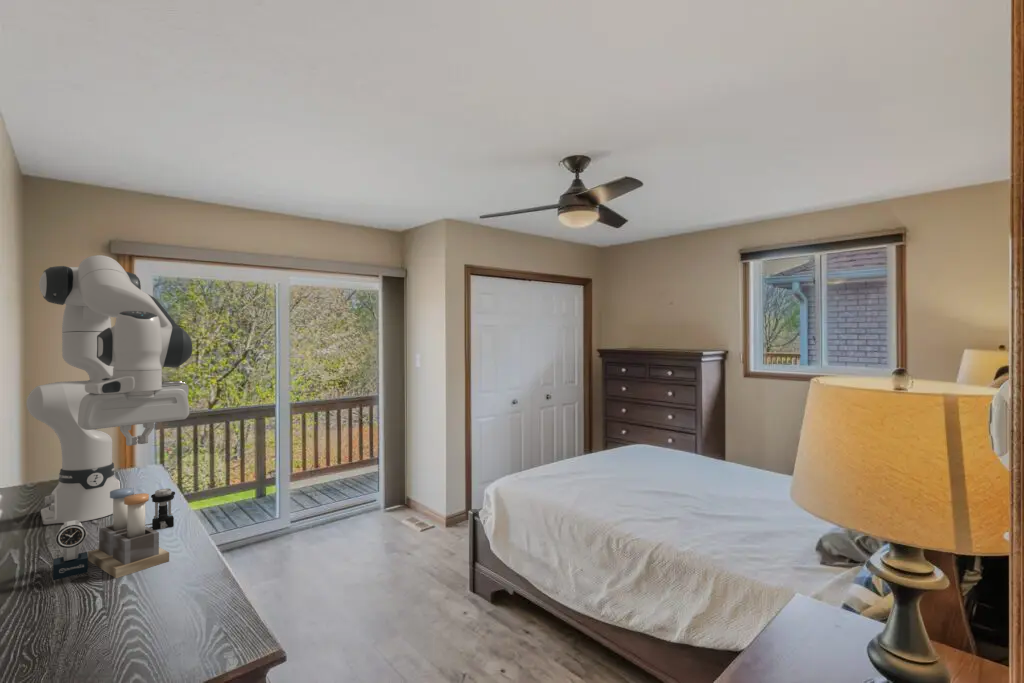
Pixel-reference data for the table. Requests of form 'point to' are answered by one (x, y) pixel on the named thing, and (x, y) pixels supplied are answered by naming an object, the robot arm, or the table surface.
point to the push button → (162, 509)
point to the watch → (70, 551)
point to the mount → (127, 551)
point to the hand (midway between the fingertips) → (137, 444)
